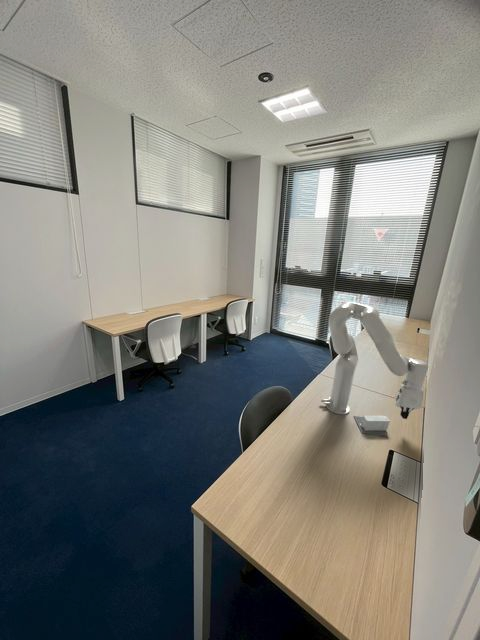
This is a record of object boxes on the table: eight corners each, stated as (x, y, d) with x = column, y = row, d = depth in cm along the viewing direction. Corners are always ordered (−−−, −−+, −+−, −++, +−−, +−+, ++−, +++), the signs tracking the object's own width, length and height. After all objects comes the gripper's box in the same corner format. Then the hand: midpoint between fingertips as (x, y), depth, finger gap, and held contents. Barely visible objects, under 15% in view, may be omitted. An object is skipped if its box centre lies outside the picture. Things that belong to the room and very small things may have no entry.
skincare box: (385, 415, 133) (362, 414, 132) (390, 421, 129) (367, 420, 128) (382, 425, 135) (360, 424, 134) (387, 431, 131) (364, 430, 130)
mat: (361, 433, 129) (361, 432, 128) (353, 416, 141) (353, 415, 141) (386, 436, 128) (387, 435, 127) (376, 419, 140) (376, 418, 140)
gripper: (400, 387, 122) (391, 420, 128) (434, 390, 121) (423, 424, 126) (393, 379, 130) (385, 410, 135) (425, 382, 128) (415, 414, 133)
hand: (403, 417), depth 131 cm, fingers closed
